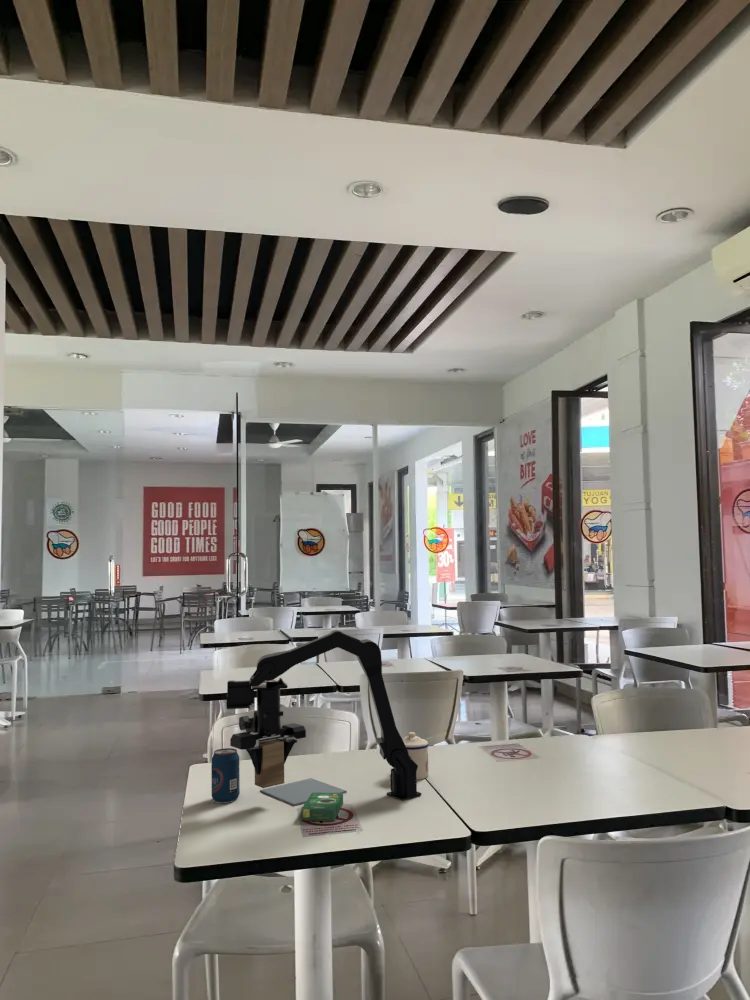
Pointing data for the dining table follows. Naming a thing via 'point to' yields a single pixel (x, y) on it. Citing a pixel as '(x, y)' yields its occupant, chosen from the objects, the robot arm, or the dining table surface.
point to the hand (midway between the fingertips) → (269, 771)
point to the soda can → (225, 775)
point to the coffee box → (322, 806)
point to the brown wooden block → (271, 764)
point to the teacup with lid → (418, 753)
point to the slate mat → (300, 791)
